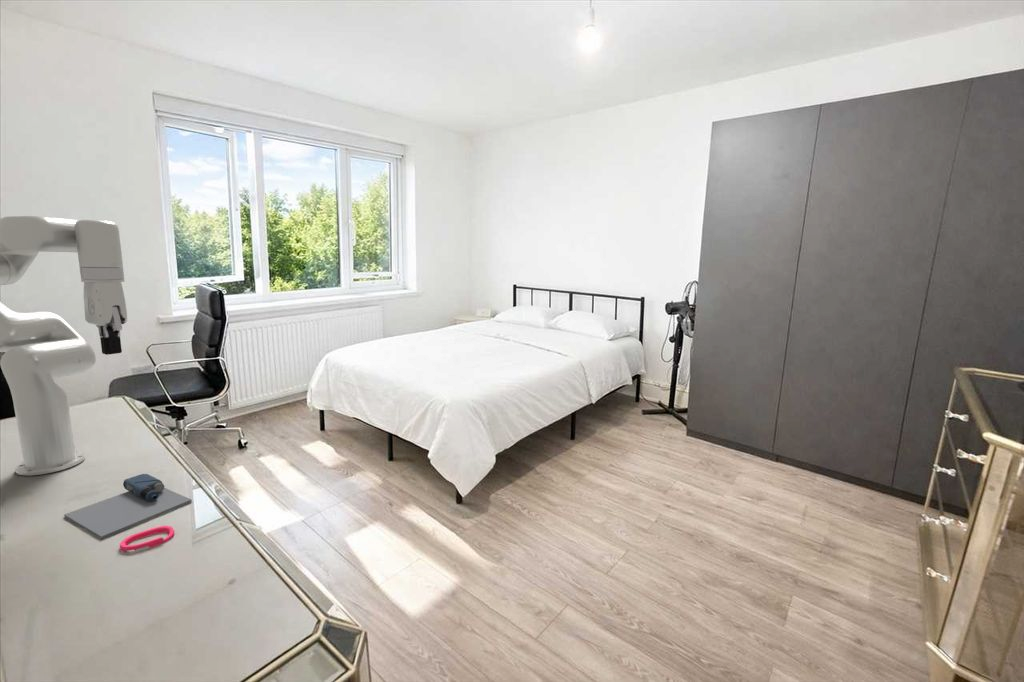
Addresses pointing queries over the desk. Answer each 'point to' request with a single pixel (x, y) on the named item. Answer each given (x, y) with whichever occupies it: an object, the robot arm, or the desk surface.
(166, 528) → the fitness band
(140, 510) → the mat
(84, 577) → the desk surface
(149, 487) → the vaping device
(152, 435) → the desk surface
